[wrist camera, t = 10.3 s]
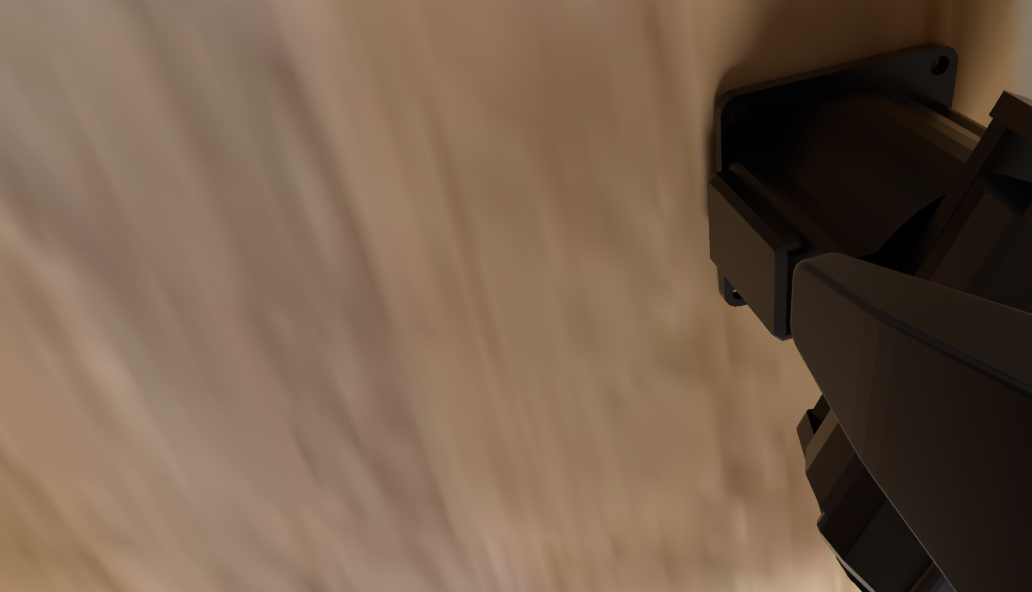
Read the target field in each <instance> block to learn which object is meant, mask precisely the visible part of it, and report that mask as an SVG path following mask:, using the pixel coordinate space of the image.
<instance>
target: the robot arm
mask: <svg viewBox="0 0 1032 592" xmlns="http://www.w3.org/2000/svg"><path fill="white" fill-rule="evenodd" d="M938 57H939V58H940V59H939V62H938V64H937V66H936V67H935V68H934V69H932V70H931V66H932V63H933V62H934V61H935V59H936V58H938ZM957 64H958V56H957V53H956V51H955V50H954V49H953V48H951V47H949V46H947V45H944V44H942V43H940V42H932V43H928V44H924V45H920V46H916V47H911V48H907V49H903V50H899V51H894V52H890V53H886V54H882V55H877V56H873V57H869V58H865V59H861V60H856V61H852V62H848V63H844V64H839V65H835V66H831V67H827V68H822V69H818V70H814V71H810V72H806V73H801V74H797V75H793V76H789V77H784V78H780V79H776V80H772V81H767V82H763V83H759V84H755V85H751V86H746V87H742V88H738V89H734V90H731V91H728V92H726V93H725V94H723V95H722V96H721V97H720V98H719V100H718V101H717V103H716V105H715V110H714V128H715V165H716V172H715V173H713V175H712V176H711V178H710V180H709V182H708V206H709V236H710V258H711V260H712V261H713V262H714V264H715V265H716V266H717V267H718V277H719V292H720V294H721V296H722V297H723V298H724V300H725V301H726V302H727V303H728V304H729V305H731V306H735V307H736V306H743V305H747V304H748V306H749V307H750V308H751V309H752V311H753V312H754V313H755V314H756V316H757V317H758V318H759V319H760V320H761V322H762V323H763V324H764V325H765V327H766V328H767V329H768V330H769V332H770V333H771V334H772V335H773V336H775V337H777V338H778V339H780V340H781V341H785V340H788V339H792V338H793V340H794V343H795V345H796V347H797V349H798V351H799V353H800V355H801V356H802V358H803V360H804V362H805V363H806V365H807V367H808V369H809V370H810V372H811V374H812V376H813V377H814V379H815V381H816V383H817V385H818V386H819V388H820V390H821V392H822V393H823V394H822V396H821V397H820V399H819V400H818V402H817V404H816V405H815V407H814V409H808V410H807V411H806V413H805V414H804V416H803V418H802V419H801V421H800V423H799V424H798V426H797V433H798V436H799V440H800V443H801V446H802V450H803V453H804V457H805V460H806V472H805V473H806V476H807V478H808V480H809V482H810V485H811V487H812V489H813V492H814V494H815V496H816V499H817V501H818V504H819V507H820V511H821V516H820V517H819V519H818V520H817V527H818V529H819V531H820V534H821V536H822V538H823V540H824V542H825V543H826V544H827V545H828V547H829V548H830V549H831V550H832V552H833V553H834V554H835V556H836V558H837V560H838V562H839V563H840V565H841V566H842V568H843V569H844V571H845V572H846V574H847V576H848V577H849V578H850V580H851V581H852V582H853V583H855V585H856V586H857V587H858V588H859V589H860V590H861V591H862V592H1032V99H1029V98H1026V97H1023V96H1020V95H1017V94H1014V93H1012V92H1009V91H1006V90H1004V91H1003V93H1002V94H1001V96H1000V98H999V99H998V101H997V102H996V104H995V106H994V107H993V109H992V111H991V112H990V114H989V116H991V117H992V118H993V119H992V121H991V123H990V124H989V126H988V127H987V128H986V127H984V126H983V125H981V124H979V123H977V122H975V121H973V120H972V119H970V118H968V117H966V116H964V115H963V114H961V113H959V112H957V111H955V110H953V109H952V108H951V107H952V100H953V92H954V85H955V78H956V71H957ZM738 104H742V109H741V112H740V113H739V114H738V115H737V116H735V117H733V118H730V112H731V110H732V109H733V108H734V106H736V105H738ZM734 289H735V290H736V292H733V290H734Z"/></svg>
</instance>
